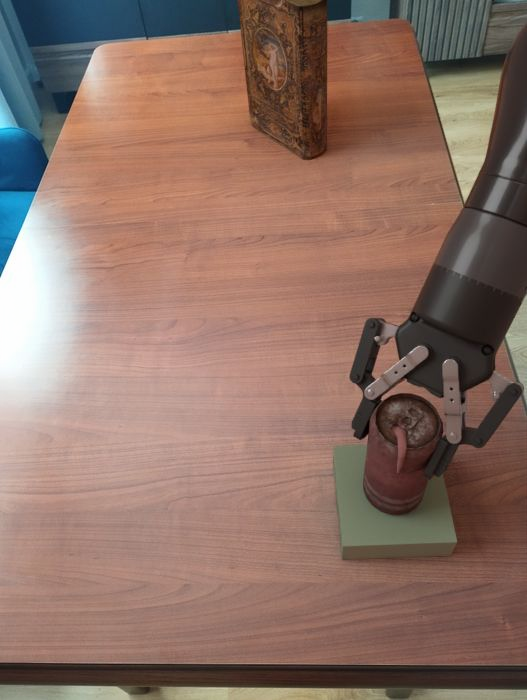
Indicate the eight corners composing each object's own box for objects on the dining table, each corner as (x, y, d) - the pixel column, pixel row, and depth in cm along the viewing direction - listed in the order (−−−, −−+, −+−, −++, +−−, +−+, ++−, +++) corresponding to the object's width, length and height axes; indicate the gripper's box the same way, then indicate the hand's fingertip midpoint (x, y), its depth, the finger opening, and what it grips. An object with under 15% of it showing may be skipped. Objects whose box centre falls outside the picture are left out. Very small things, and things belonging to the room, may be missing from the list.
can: (362, 517, 58) (370, 452, 47) (363, 459, 62) (370, 387, 51) (424, 522, 57) (448, 457, 46) (421, 463, 61) (442, 390, 50)
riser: (430, 457, 66) (435, 440, 63) (450, 555, 59) (457, 542, 56) (333, 462, 67) (333, 445, 63) (341, 559, 60) (342, 546, 57)
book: (331, 149, 103) (333, -4, 84) (308, 162, 102) (304, 8, 82) (273, 114, 112) (262, -33, 92) (250, 125, 110) (234, -22, 90)
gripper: (386, 240, 47) (306, 423, 51) (569, 313, 41) (463, 513, 45) (410, 250, 53) (338, 411, 57) (571, 314, 47) (478, 489, 51)
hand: (393, 455), depth 51 cm, fingers closed on can, 6 cm apart
